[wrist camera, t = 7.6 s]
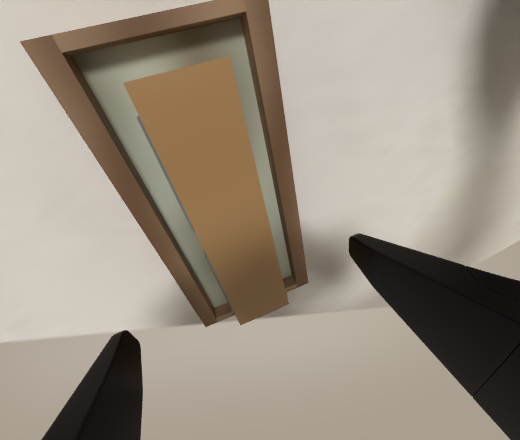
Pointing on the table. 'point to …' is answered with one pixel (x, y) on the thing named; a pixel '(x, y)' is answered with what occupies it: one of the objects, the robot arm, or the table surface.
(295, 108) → the table surface
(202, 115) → the tan rectangular block
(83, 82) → the brown picture frame
